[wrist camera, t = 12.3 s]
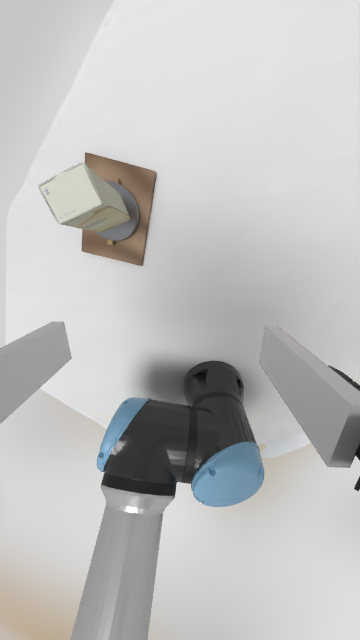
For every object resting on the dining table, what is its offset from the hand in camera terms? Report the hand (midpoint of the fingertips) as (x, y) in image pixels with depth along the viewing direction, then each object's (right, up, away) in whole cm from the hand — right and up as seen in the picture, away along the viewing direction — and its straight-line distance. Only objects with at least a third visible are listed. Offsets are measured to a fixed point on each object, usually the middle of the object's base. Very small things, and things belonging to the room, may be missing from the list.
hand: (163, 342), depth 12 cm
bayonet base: (-11, +21, +23) cm, 33 cm away
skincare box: (-11, +20, +20) cm, 30 cm away
